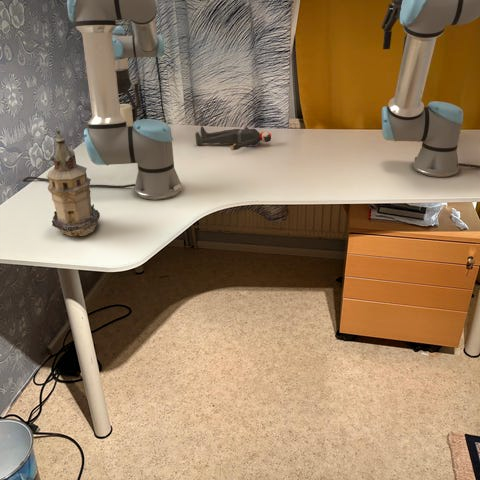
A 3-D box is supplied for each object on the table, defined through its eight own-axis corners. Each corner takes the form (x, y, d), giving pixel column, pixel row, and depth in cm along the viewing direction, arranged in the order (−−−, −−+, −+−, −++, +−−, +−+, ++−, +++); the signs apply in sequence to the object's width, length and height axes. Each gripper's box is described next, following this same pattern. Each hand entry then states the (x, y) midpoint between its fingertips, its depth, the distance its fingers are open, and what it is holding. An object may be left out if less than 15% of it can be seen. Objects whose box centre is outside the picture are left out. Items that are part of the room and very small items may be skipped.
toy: (206, 120, 229) (275, 120, 223) (207, 134, 232) (276, 134, 226) (189, 139, 207) (265, 140, 201) (190, 155, 210) (266, 156, 204)
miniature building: (80, 214, 164) (63, 117, 149) (111, 225, 157) (96, 125, 142) (44, 231, 154) (22, 130, 140) (75, 244, 147) (55, 139, 133)
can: (121, 130, 224) (118, 103, 219) (137, 130, 223) (133, 104, 217) (115, 135, 218) (111, 108, 213) (131, 136, 217) (127, 108, 212)
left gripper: (141, 64, 214) (147, 121, 225) (91, 69, 208) (99, 127, 219) (145, 68, 208) (151, 126, 219) (94, 73, 202) (102, 132, 213)
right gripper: (376, -12, 203) (370, 47, 214) (414, -6, 183) (406, 58, 193) (393, -12, 205) (386, 46, 216) (433, -7, 185) (423, 57, 195)
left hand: (125, 126), depth 219 cm, fingers closed on can, 7 cm apart
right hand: (395, 52), depth 204 cm, fingers open, 13 cm apart
